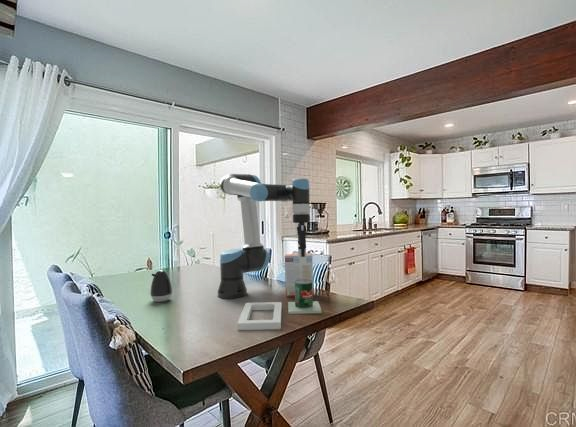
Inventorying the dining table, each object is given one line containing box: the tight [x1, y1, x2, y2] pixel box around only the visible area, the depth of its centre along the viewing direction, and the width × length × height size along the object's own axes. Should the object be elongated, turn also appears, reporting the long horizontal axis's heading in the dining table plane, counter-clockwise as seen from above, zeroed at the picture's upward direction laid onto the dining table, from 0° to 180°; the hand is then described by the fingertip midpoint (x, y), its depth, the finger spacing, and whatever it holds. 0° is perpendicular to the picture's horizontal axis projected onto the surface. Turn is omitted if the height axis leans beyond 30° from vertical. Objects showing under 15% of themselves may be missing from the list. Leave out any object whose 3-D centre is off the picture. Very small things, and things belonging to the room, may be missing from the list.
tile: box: [287, 300, 323, 315], centre depth 143 cm, size 14×14×1 cm
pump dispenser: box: [149, 269, 173, 303], centre depth 160 cm, size 10×10×15 cm
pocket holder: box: [236, 301, 283, 331], centre depth 131 cm, size 16×26×2 cm, turn 0°
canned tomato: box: [294, 279, 314, 309], centre depth 143 cm, size 8×8×11 cm
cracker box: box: [284, 253, 314, 297], centre depth 164 cm, size 14×6×21 cm, turn 84°
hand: (302, 261), depth 143 cm, fingers open, 13 cm apart
